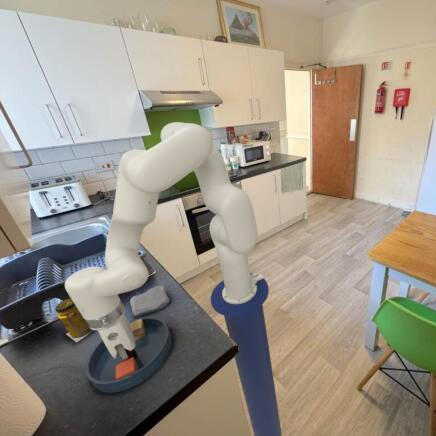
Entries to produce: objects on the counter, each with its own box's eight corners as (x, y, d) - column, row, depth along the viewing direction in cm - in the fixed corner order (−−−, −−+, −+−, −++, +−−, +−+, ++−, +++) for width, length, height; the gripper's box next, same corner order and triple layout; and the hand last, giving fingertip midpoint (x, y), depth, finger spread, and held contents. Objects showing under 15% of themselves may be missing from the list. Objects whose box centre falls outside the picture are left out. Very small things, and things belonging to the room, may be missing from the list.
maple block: (145, 326, 78) (141, 318, 76) (145, 336, 75) (141, 327, 73) (131, 332, 76) (127, 324, 74) (131, 342, 73) (126, 333, 71)
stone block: (173, 307, 88) (165, 288, 94) (169, 299, 85) (161, 281, 91) (136, 325, 82) (131, 304, 88) (131, 318, 79) (126, 296, 85)
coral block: (138, 365, 66) (133, 356, 64) (139, 378, 63) (134, 368, 61) (121, 374, 64) (115, 365, 62) (121, 387, 61) (115, 378, 59)
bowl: (163, 315, 82) (159, 307, 80) (180, 358, 68) (176, 349, 66) (91, 351, 71) (85, 343, 69) (93, 411, 57) (86, 402, 55)
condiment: (66, 334, 77) (47, 307, 72) (94, 315, 84) (79, 289, 79) (77, 343, 74) (58, 315, 69) (106, 322, 81) (90, 296, 76)
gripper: (126, 323, 55) (151, 371, 64) (119, 289, 66) (141, 334, 74) (86, 343, 51) (118, 391, 59) (86, 303, 62) (113, 349, 70)
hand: (131, 359), depth 67 cm, fingers closed
